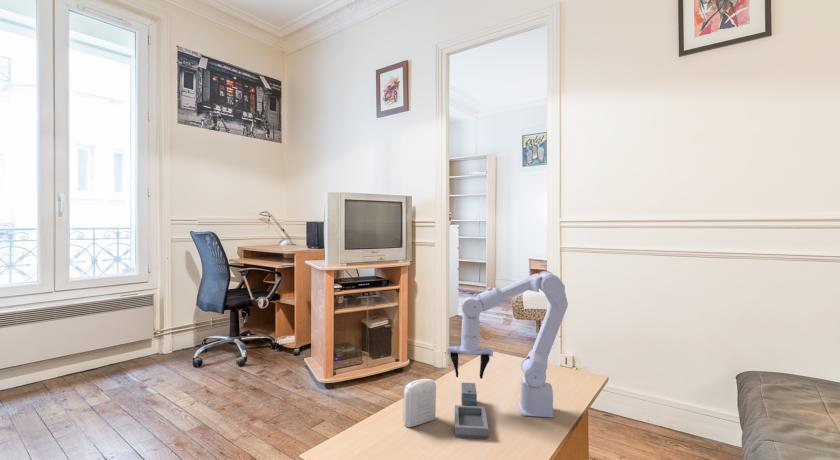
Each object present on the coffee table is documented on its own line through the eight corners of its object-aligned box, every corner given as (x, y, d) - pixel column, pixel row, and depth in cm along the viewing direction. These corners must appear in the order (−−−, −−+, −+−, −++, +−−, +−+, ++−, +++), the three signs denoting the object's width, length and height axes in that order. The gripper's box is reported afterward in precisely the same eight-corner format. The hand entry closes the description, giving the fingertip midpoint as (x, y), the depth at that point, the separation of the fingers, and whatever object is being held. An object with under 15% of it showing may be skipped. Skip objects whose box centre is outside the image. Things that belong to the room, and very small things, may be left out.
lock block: (474, 400, 128) (475, 382, 128) (476, 412, 120) (476, 393, 120) (461, 400, 128) (461, 382, 128) (462, 412, 120) (462, 393, 120)
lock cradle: (484, 415, 118) (484, 406, 118) (488, 438, 106) (488, 428, 106) (454, 414, 119) (454, 405, 119) (455, 436, 106) (455, 426, 106)
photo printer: (429, 413, 119) (430, 374, 119) (437, 419, 115) (438, 379, 115) (400, 423, 113) (401, 381, 113) (408, 429, 110) (409, 386, 109)
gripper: (491, 332, 127) (490, 373, 127) (447, 330, 128) (446, 370, 128) (494, 338, 120) (492, 381, 120) (447, 336, 121) (446, 379, 121)
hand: (468, 376), depth 124 cm, fingers open, 7 cm apart
